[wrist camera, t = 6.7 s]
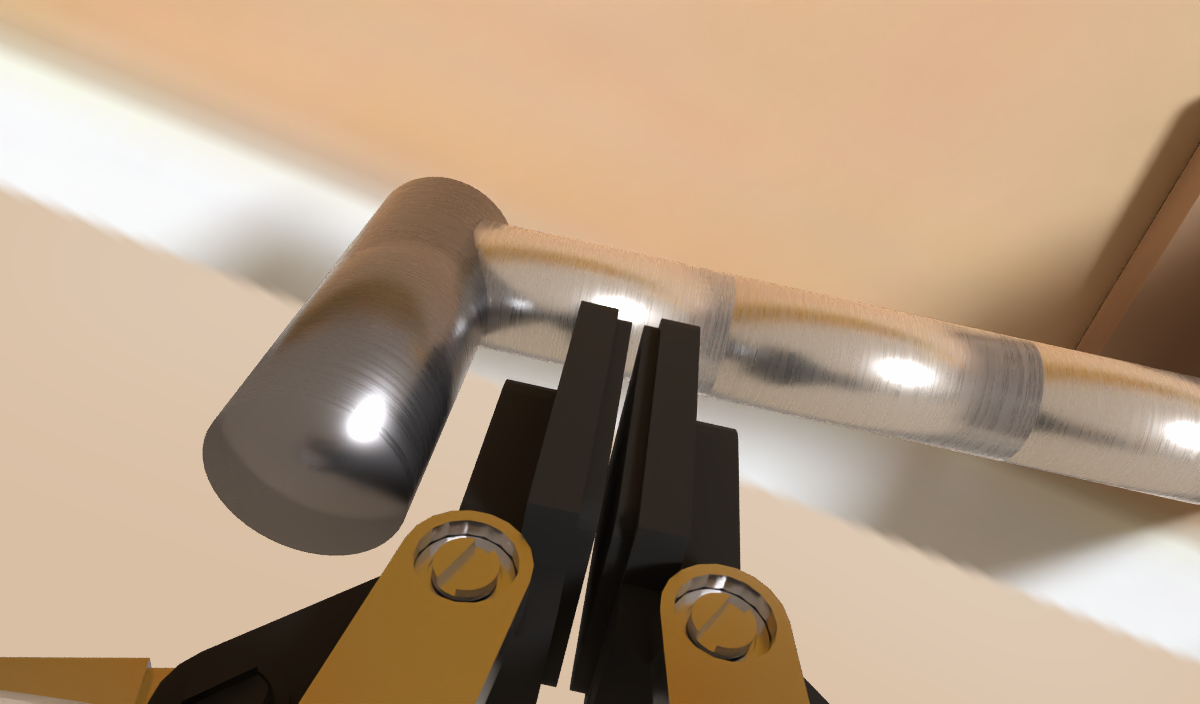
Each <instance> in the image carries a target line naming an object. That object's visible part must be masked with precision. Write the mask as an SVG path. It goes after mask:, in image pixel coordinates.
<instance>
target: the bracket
mask: <svg viewBox="0 0 1200 704" xmlns="http://www.w3.org/2000/svg"><path fill="white" fill-rule="evenodd" d="M1075 350H1076V351H1080V352H1085V353H1089V354H1094V355H1098V356H1103V357H1107V358H1112V359H1116V360H1121V361H1125V362H1130V363H1134V364H1139V365H1143V366H1148V367H1152V368H1157V369H1161V370H1166V371H1170V372H1175V373H1180V374H1184V375H1189V376H1193V377H1198V378H1200V144H1199V146H1198V147H1197V149H1196V151H1195V152H1194V154H1193V156H1192V157H1191V159H1190V161H1189V162H1188V164H1187V166H1186V167H1185V169H1184V171H1183V172H1182V174H1181V176H1180V177H1179V179H1178V181H1177V182H1176V184H1175V186H1174V187H1173V189H1172V191H1171V192H1170V194H1169V195H1168V197H1167V199H1166V200H1165V202H1164V204H1163V205H1162V207H1161V209H1160V210H1159V212H1158V214H1157V215H1156V217H1155V219H1154V220H1153V222H1152V224H1151V225H1150V227H1149V229H1148V230H1147V232H1146V234H1145V235H1144V237H1143V239H1142V240H1141V242H1140V243H1139V245H1138V247H1137V248H1136V250H1135V252H1134V253H1133V255H1132V257H1131V258H1130V260H1129V262H1128V263H1127V265H1126V267H1125V268H1124V270H1123V272H1122V273H1121V275H1120V277H1119V278H1118V280H1117V282H1116V283H1115V285H1114V287H1113V288H1112V290H1111V292H1110V293H1109V295H1108V296H1107V298H1106V300H1105V301H1104V303H1103V305H1102V306H1101V308H1100V310H1099V311H1098V313H1097V315H1096V316H1095V318H1094V320H1093V321H1092V323H1091V325H1090V326H1089V328H1088V330H1087V331H1086V333H1085V335H1084V336H1083V338H1082V340H1081V341H1080V343H1079V344H1078V346H1077V348H1076V349H1075Z"/></svg>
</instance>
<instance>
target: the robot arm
mask: <svg viewBox="0 0 1200 704" xmlns="http://www.w3.org/2000/svg"><path fill="white" fill-rule="evenodd" d="M618 314H619V308H614V307H609V306H605V305H600V304H596V303H591V302H587V301H581V304H580V308H579V311H578V315H577V319H576V322H575V326H574V330H573V334H572V337H571V341H570V345H569V348H568V352H567V356H566V360H565V363H564V367H563V371H562V374H561V378H560V382H559V386H558V389H557V390H554V389H550V388H545V387H540V386H536V385H531V384H527V383H522V382H518V381H513V380H509V379H507V380H506V381H505V384H504V386H503V388H502V391H501V394H500V397H499V400H498V403H497V405H496V408H495V411H494V414H493V417H492V419H491V422H490V425H489V428H488V431H487V433H486V436H485V439H484V442H483V445H482V447H481V450H480V453H479V456H478V459H477V461H476V464H475V467H474V470H473V473H472V475H471V478H470V481H469V484H468V487H467V490H466V492H465V495H464V498H463V501H462V504H461V506H460V509H459V511H449V512H446V513H442V514H438V515H434V516H432V517H430V518H428V519H427V520H425V521H423V522H421V523H420V524H418V525H416V526H415V528H414V529H413V530H412V531H411V532H410V533H409V534H408V535H407V536H406V537H405V539H404V540H403V542H402V543H401V545H400V547H399V548H398V550H397V551H396V553H395V554H394V556H393V557H392V559H391V561H390V562H389V564H388V565H387V567H386V568H385V570H384V572H383V573H382V574H381V576H379V577H377V578H375V579H372V580H370V581H368V582H365V583H363V584H361V585H358V586H356V587H353V588H351V589H349V590H346V591H344V592H341V593H339V594H337V595H335V596H332V597H330V598H327V599H325V600H323V601H320V602H318V603H316V604H313V605H311V606H308V607H306V608H304V609H301V610H299V611H297V612H294V613H292V614H290V615H287V616H285V617H283V618H280V619H278V620H276V621H273V622H271V623H268V624H266V625H264V626H261V627H259V628H256V629H254V630H252V631H249V632H247V633H245V634H242V635H240V636H238V637H235V638H233V639H231V640H228V641H226V642H223V643H221V644H219V645H217V646H214V647H212V648H209V649H207V650H205V651H202V652H200V653H199V654H197V655H195V656H194V657H191V658H190V659H188V660H186V661H184V662H183V663H181V664H179V665H178V666H177V667H176V668H152V667H151V662H150V658H40V657H36V658H34V657H31V658H30V657H0V704H536V702H537V698H538V694H539V689H540V685H541V684H544V685H548V686H553V687H556V686H557V683H558V678H559V675H560V671H561V667H562V663H563V659H564V655H565V651H566V647H567V644H568V639H569V635H570V632H571V628H572V624H573V620H574V616H575V612H576V608H577V604H578V600H579V597H580V593H581V589H582V585H583V581H584V577H585V573H586V569H587V566H588V562H589V558H590V554H591V550H592V546H593V542H594V538H595V542H594V547H593V553H592V559H591V565H590V571H589V577H588V583H587V589H586V595H585V601H584V606H583V613H582V618H581V624H580V630H579V636H578V642H577V648H576V654H575V660H574V665H573V672H572V678H571V684H570V690H572V691H576V692H581V693H585V699H584V704H829V703H828V702H827V701H826V700H825V699H824V698H823V697H822V696H821V695H820V694H819V693H818V692H817V691H816V689H815V688H814V687H813V686H811V684H810V683H809V682H808V681H807V680H806V679H805V678H804V677H803V674H802V670H801V666H800V662H799V658H798V654H797V649H796V645H795V641H794V637H793V633H792V629H791V625H790V621H789V619H788V616H787V614H786V612H785V609H784V607H783V605H782V604H781V602H780V601H779V600H778V599H777V597H776V596H775V595H774V594H773V592H772V591H771V590H770V589H769V588H768V587H767V586H765V585H764V584H763V583H761V582H760V581H759V580H758V579H756V578H755V577H753V576H751V575H749V574H747V573H745V572H743V571H741V570H740V521H739V457H738V433H737V431H736V429H732V428H727V427H723V426H718V425H713V424H709V423H704V422H700V421H696V417H697V395H698V374H699V352H700V326H696V325H691V324H687V323H682V322H678V321H673V320H669V319H664V318H662V319H661V321H660V324H659V327H658V328H657V327H652V326H648V325H644V328H643V331H642V335H641V339H640V343H639V347H638V351H637V355H636V359H635V363H634V367H633V371H632V375H631V379H630V382H629V386H628V390H627V394H626V398H625V402H624V406H623V410H622V414H621V418H620V422H619V426H618V430H617V434H616V438H615V442H614V446H613V450H612V454H611V448H612V441H613V436H614V430H615V424H616V418H617V412H618V406H619V400H620V394H621V388H622V382H623V376H624V370H625V364H626V358H627V352H628V346H629V341H630V335H631V329H632V322H629V321H625V320H620V319H618ZM610 454H611V458H610ZM609 460H610V462H609ZM595 534H596V536H595Z"/></svg>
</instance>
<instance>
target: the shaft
mask: <svg viewBox="0 0 1200 704" xmlns="http://www.w3.org/2000/svg"><path fill="white" fill-rule="evenodd" d="M581 301H587V302H591V303H596V304H600V305H605V306H609V307H614V308H619V314H618V319H620V320H625V321H629V322H632V329H631V335H630V341H629V346H628V352H627V358H626V364H625V370H624V376H623V378H625V379H631V375H632V371H633V367H634V363H635V359H636V355H637V351H638V347H639V343H640V339H641V335H642V331H643V328H644V325H648V326H652V327H657V328H658V327H659V324H660V321H661V319H662V318H664V319H669V320H673V321H678V322H682V323H687V324H691V325H696V326H700V352H699V374H698V395H702V396H707V397H712V398H716V399H721V400H725V401H730V402H734V403H739V404H743V405H748V406H752V407H757V408H761V409H766V410H770V411H775V412H779V413H784V414H789V415H793V416H798V417H802V418H807V419H811V420H816V421H820V422H825V423H829V424H834V425H838V426H843V427H847V428H852V429H856V430H861V431H866V432H870V433H875V434H879V435H884V436H888V437H893V438H897V439H902V440H906V441H911V442H915V443H920V444H924V445H929V446H933V447H938V448H943V449H947V450H952V451H956V452H961V453H965V454H970V455H974V456H979V457H983V458H988V459H992V460H997V461H1001V462H1006V463H1010V464H1015V465H1020V466H1024V467H1029V468H1033V469H1038V470H1042V471H1047V472H1051V473H1056V474H1060V475H1065V476H1069V477H1074V478H1078V479H1083V480H1087V481H1092V482H1097V483H1101V484H1106V485H1110V486H1115V487H1119V488H1124V489H1128V490H1133V491H1137V492H1142V493H1146V494H1151V495H1155V496H1160V497H1164V498H1169V499H1174V500H1178V501H1183V502H1187V503H1192V504H1196V505H1200V378H1198V377H1193V376H1189V375H1184V374H1180V373H1175V372H1170V371H1166V370H1161V369H1157V368H1152V367H1148V366H1143V365H1139V364H1134V363H1130V362H1125V361H1121V360H1116V359H1112V358H1107V357H1103V356H1098V355H1094V354H1089V353H1085V352H1080V351H1076V350H1071V349H1066V348H1062V347H1057V346H1053V345H1048V344H1044V343H1039V342H1035V341H1030V340H1026V339H1021V338H1017V337H1012V336H1008V335H1003V334H999V333H994V332H990V331H985V330H981V329H976V328H972V327H967V326H962V325H958V324H953V323H949V322H944V321H940V320H935V319H931V318H926V317H922V316H917V315H913V314H908V313H904V312H899V311H895V310H890V309H886V308H881V307H877V306H872V305H868V304H863V303H858V302H854V301H849V300H845V299H840V298H836V297H831V296H827V295H822V294H818V293H813V292H809V291H804V290H800V289H795V288H791V287H786V286H782V285H777V284H773V283H768V282H764V281H759V280H754V279H750V278H745V277H741V276H736V275H732V274H727V273H723V272H718V271H714V270H709V269H705V268H700V267H696V266H691V265H687V264H682V263H678V262H673V261H669V260H664V259H660V258H655V257H650V256H646V255H641V254H637V253H632V252H628V251H623V250H619V249H614V248H610V247H605V246H601V245H596V244H592V243H587V242H583V241H578V240H574V239H569V238H565V237H560V236H556V235H551V234H546V233H542V232H537V231H533V230H528V229H524V228H519V227H515V226H510V225H508V223H507V221H506V219H505V217H504V216H503V214H502V213H501V211H500V210H499V209H498V207H497V206H496V205H495V204H494V203H493V202H492V201H491V200H490V199H489V198H488V197H487V196H485V195H484V194H483V193H481V192H480V191H478V190H477V189H475V188H473V187H472V186H470V185H468V184H465V183H463V182H460V181H457V180H453V179H449V178H443V177H426V178H420V179H415V180H412V181H410V182H407V183H405V184H403V185H402V186H400V187H398V188H397V189H396V190H394V191H393V192H392V193H391V194H390V195H389V196H388V197H387V199H386V200H385V201H384V202H383V204H382V205H381V206H380V208H379V209H378V210H377V211H376V213H375V214H374V215H373V217H372V218H371V219H370V220H369V222H368V223H367V224H366V226H365V227H364V228H363V229H362V231H361V232H360V233H359V235H358V236H357V237H356V238H355V240H354V241H353V242H352V244H351V245H350V246H349V248H348V249H347V250H346V251H345V253H344V254H343V255H342V257H341V258H340V259H339V260H338V262H337V263H336V264H335V266H334V267H333V268H332V269H331V271H330V272H329V273H328V275H327V276H326V277H325V278H324V280H323V281H322V282H321V284H320V285H319V286H318V287H317V289H316V290H315V291H314V293H313V294H312V295H311V296H310V298H309V299H308V300H307V302H306V303H305V304H304V305H303V307H302V308H301V309H300V311H299V312H298V313H297V314H296V316H295V317H294V318H293V320H292V321H291V322H290V324H289V325H288V326H287V327H286V329H285V330H284V331H283V332H282V334H281V335H280V336H279V338H278V339H277V340H276V342H275V343H274V344H273V346H272V347H271V348H270V349H269V351H268V352H267V353H266V354H265V356H264V357H263V358H262V360H261V361H260V362H259V364H258V365H257V366H256V367H255V369H254V370H253V371H252V372H251V374H250V375H249V376H248V378H247V379H246V380H245V381H244V383H243V384H242V386H241V387H240V388H239V389H238V390H237V392H236V393H235V394H234V396H233V397H232V398H231V399H230V401H229V402H228V403H227V405H226V406H225V407H224V408H223V410H222V411H221V412H220V414H219V415H218V416H217V417H216V419H215V420H214V421H213V423H212V424H211V426H210V428H209V429H208V431H207V433H206V436H205V439H204V444H203V462H204V468H205V471H206V474H207V477H208V480H209V482H210V483H211V485H212V487H213V489H214V491H215V492H216V494H217V495H218V497H219V498H220V500H221V501H222V502H223V503H224V504H225V505H226V507H227V508H228V509H229V510H230V511H231V512H232V513H233V514H234V515H235V516H236V517H237V518H239V519H240V520H241V521H243V522H244V523H245V524H246V525H247V526H249V527H250V528H252V529H253V530H255V531H256V532H258V533H260V534H261V535H263V536H265V537H267V538H269V539H271V540H273V541H275V542H277V543H279V544H282V545H285V546H287V547H290V548H293V549H296V550H300V551H304V552H308V553H314V554H320V555H351V554H357V553H361V552H365V551H368V550H371V549H374V548H376V547H378V546H380V545H381V544H383V543H385V542H386V541H387V540H389V539H390V538H391V537H392V536H393V535H394V534H395V533H396V532H397V531H398V530H399V528H400V526H401V525H402V523H403V522H404V519H405V517H406V514H407V512H408V510H409V507H410V505H411V503H412V500H413V498H414V496H415V493H416V491H417V488H418V486H419V484H420V482H421V479H422V477H423V474H424V472H425V470H426V467H427V465H428V462H429V460H430V458H431V456H432V453H433V451H434V448H435V446H436V444H437V442H438V439H439V437H440V435H441V432H442V430H443V428H444V425H445V423H446V421H447V418H448V416H449V413H450V411H451V409H452V406H453V404H454V402H455V399H456V397H457V395H458V392H459V390H460V388H461V385H462V383H463V380H464V378H465V376H466V374H467V371H468V369H469V367H470V364H471V362H472V360H473V357H474V355H475V353H476V350H477V348H478V346H481V347H485V348H490V349H494V350H499V351H503V352H508V353H512V354H517V355H521V356H526V357H530V358H535V359H539V360H544V361H548V362H553V363H558V364H562V365H564V363H565V360H566V356H567V352H568V348H569V345H570V341H571V337H572V334H573V330H574V326H575V322H576V319H577V315H578V311H579V308H580V304H581Z"/></svg>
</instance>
